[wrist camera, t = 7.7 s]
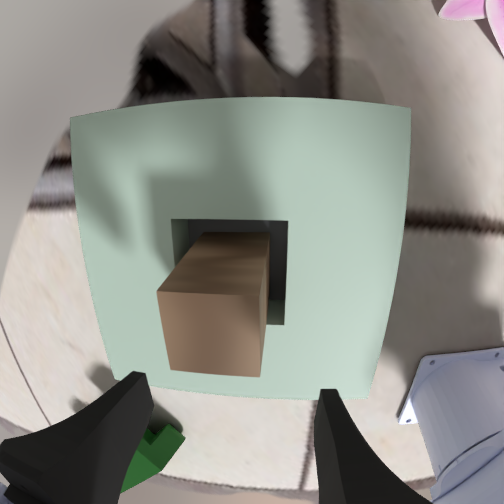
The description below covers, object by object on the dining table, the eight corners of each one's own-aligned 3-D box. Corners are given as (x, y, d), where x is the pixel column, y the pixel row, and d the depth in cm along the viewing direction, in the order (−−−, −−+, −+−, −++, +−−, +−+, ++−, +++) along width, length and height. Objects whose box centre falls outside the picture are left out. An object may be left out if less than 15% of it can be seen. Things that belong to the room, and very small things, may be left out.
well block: (390, 111, 17) (411, 107, 13) (359, 366, 23) (367, 398, 19) (100, 117, 18) (70, 117, 15) (132, 352, 24) (114, 379, 21)
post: (269, 232, 19) (259, 295, 12) (269, 293, 21) (259, 377, 13) (203, 231, 20) (156, 291, 12) (208, 290, 21) (170, 370, 14)
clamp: (152, 383, 31) (119, 411, 22) (194, 421, 31) (174, 460, 22) (95, 441, 31) (58, 473, 22) (132, 475, 30) (104, 514, 21)
